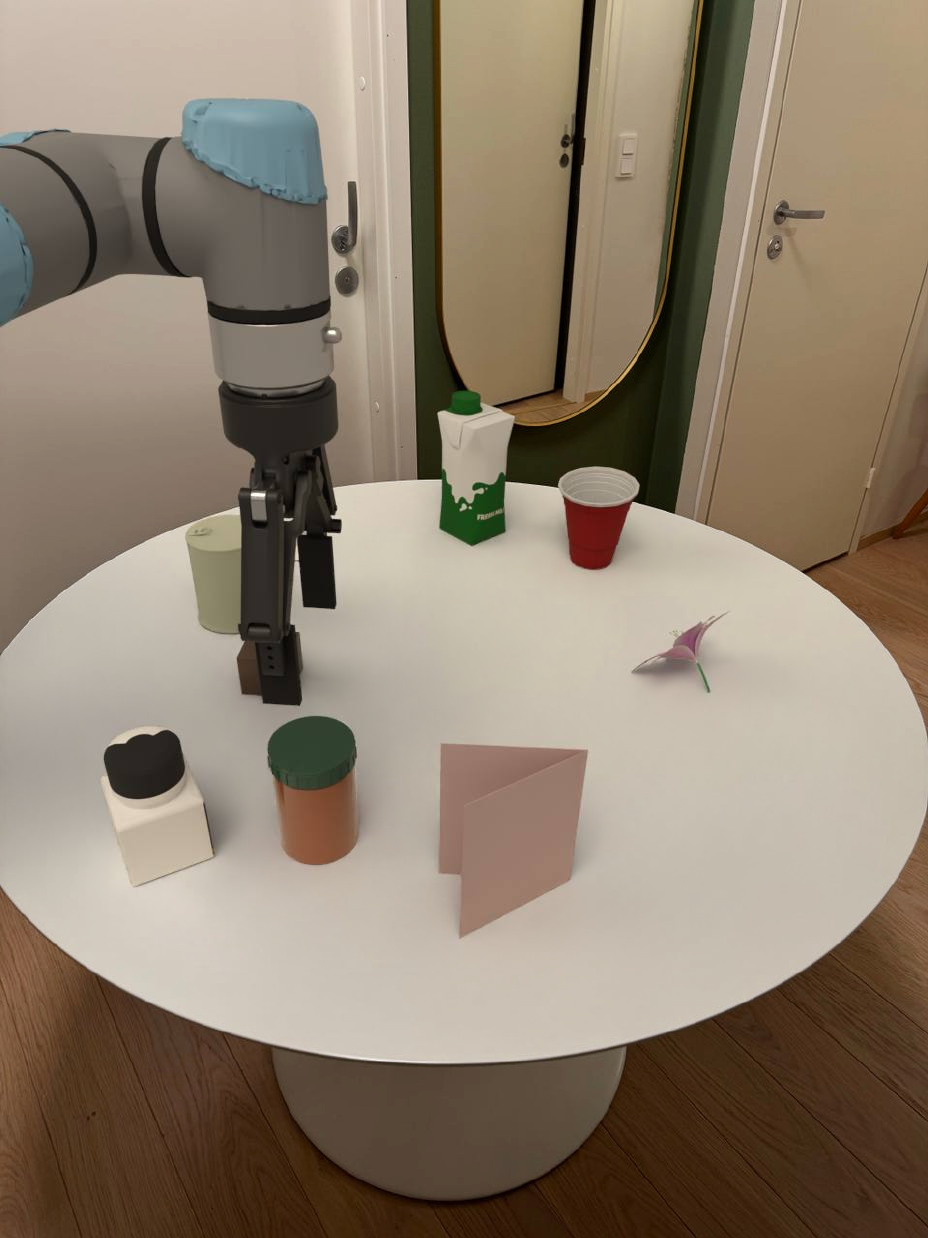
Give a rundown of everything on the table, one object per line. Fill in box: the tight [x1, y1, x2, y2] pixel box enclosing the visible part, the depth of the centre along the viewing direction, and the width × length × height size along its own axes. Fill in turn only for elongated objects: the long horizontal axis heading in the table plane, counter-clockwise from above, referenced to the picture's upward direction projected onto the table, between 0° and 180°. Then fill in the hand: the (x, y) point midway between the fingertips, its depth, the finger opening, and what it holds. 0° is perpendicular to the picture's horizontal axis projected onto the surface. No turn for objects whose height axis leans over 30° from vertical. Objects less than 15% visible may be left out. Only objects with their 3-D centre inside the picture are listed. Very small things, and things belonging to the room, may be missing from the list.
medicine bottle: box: [100, 725, 215, 887], centre depth 74 cm, size 7×7×12 cm
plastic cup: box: [557, 466, 640, 571], centre depth 120 cm, size 11×11×12 cm
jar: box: [272, 765, 360, 866], centre depth 76 cm, size 7×7×10 cm
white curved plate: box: [295, 531, 307, 561], centre depth 121 cm, size 4×8×3 cm, turn 103°
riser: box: [236, 631, 304, 697], centre depth 97 cm, size 6×6×5 cm
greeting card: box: [438, 742, 589, 940], centre depth 69 cm, size 11×7×15 cm, turn 88°
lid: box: [266, 715, 358, 790], centre depth 74 cm, size 7×7×2 cm
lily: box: [632, 610, 731, 693], centre depth 99 cm, size 12×12×10 cm
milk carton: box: [437, 390, 516, 546], centre depth 124 cm, size 9×9×20 cm
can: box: [184, 514, 241, 635], centre depth 106 cm, size 9×9×12 cm
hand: (302, 650), depth 68 cm, fingers open, 12 cm apart
